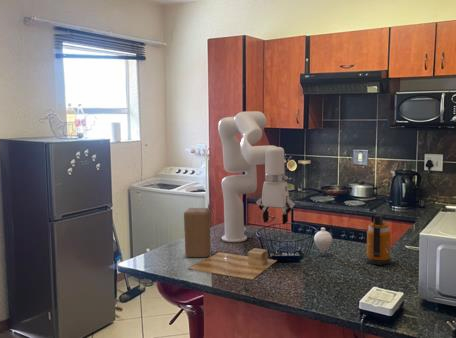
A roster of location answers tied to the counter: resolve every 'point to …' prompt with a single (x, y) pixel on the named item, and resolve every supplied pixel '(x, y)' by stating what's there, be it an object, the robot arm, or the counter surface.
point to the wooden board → (231, 265)
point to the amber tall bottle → (378, 241)
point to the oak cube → (257, 256)
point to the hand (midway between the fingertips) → (275, 222)
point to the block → (197, 232)
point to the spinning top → (323, 240)
